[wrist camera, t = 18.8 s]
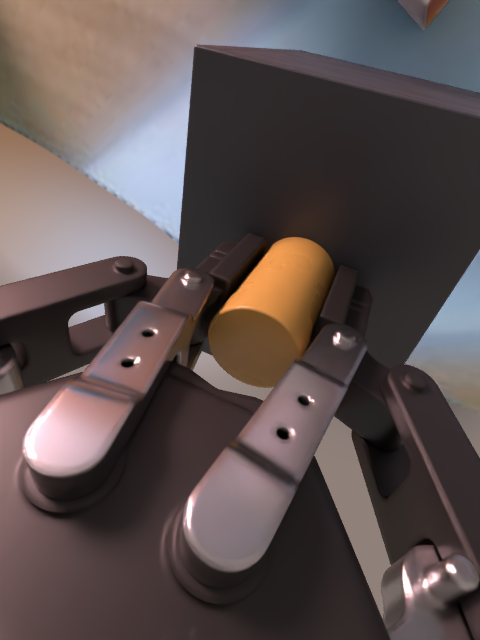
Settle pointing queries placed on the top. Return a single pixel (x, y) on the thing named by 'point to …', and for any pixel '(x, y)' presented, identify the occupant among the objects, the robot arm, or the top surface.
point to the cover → (326, 197)
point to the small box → (423, 10)
